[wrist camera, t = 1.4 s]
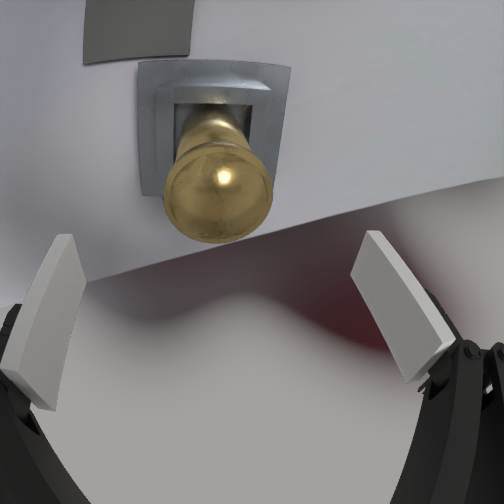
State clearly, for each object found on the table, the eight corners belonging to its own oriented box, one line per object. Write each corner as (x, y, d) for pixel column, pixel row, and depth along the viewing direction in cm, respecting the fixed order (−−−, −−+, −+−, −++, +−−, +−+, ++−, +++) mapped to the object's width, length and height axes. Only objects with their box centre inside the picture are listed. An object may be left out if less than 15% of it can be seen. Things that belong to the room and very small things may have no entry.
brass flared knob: (179, 100, 24) (161, 147, 14) (244, 102, 26) (280, 149, 15) (178, 159, 28) (166, 244, 17) (238, 159, 29) (265, 242, 18)
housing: (144, 61, 24) (131, 63, 19) (283, 65, 26) (300, 69, 22) (146, 183, 32) (137, 210, 28) (266, 183, 35) (278, 209, 30)
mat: (92, -28, 15) (90, -29, 15) (199, -40, 17) (199, -41, 17) (84, 63, 22) (82, 64, 22) (189, 54, 24) (189, 54, 24)
